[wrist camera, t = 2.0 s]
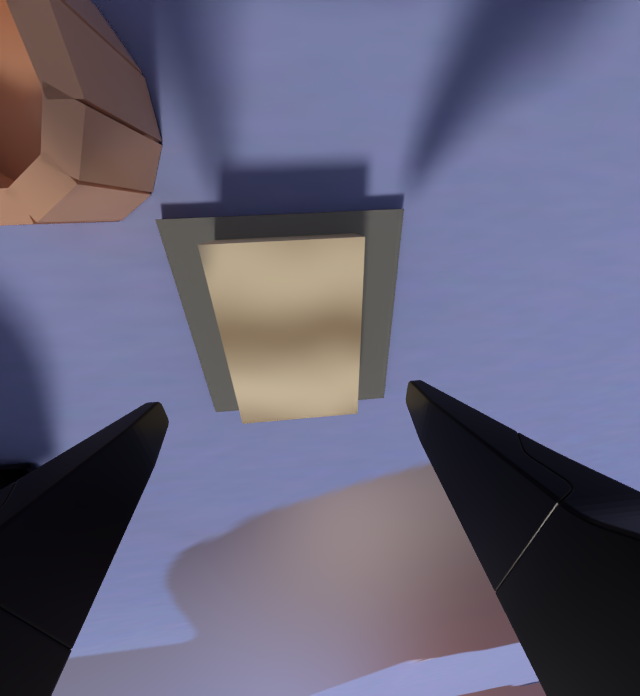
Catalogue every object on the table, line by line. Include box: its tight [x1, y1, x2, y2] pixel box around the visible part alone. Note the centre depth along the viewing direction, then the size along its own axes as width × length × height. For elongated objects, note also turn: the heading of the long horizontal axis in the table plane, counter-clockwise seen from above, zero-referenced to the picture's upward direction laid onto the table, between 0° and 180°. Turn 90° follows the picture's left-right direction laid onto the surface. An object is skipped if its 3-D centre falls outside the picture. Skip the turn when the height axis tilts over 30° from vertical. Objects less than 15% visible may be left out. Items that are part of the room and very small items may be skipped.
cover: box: [198, 233, 365, 424], centre depth 14 cm, size 10×7×2 cm
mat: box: [156, 209, 404, 412], centre depth 15 cm, size 12×12×1 cm
